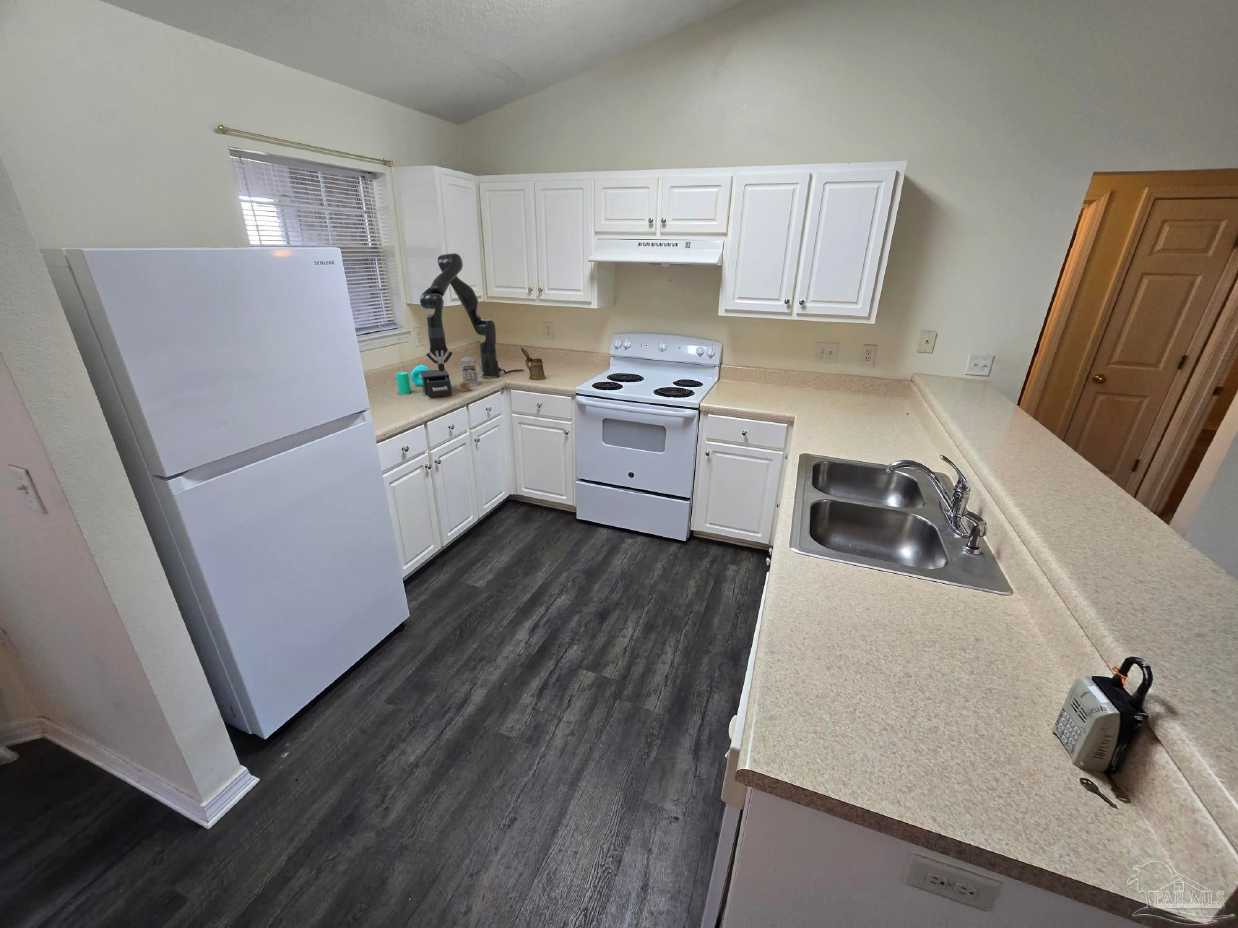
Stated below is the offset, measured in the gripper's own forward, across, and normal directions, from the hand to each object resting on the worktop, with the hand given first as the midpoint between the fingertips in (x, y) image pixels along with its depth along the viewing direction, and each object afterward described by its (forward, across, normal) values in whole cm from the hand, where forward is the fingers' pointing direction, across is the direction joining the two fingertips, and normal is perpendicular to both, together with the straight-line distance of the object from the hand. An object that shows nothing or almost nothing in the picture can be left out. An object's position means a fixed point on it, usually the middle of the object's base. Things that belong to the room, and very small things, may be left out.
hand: (441, 371), depth 257 cm
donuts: (+14, +8, -34) cm, 38 cm away
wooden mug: (+15, -54, -24) cm, 60 cm away
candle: (+14, +18, -19) cm, 30 cm away
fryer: (+14, +2, -16) cm, 21 cm away
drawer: (+13, +2, -4) cm, 14 cm away
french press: (+14, -18, -24) cm, 33 cm away
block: (+14, -12, -11) cm, 21 cm away
